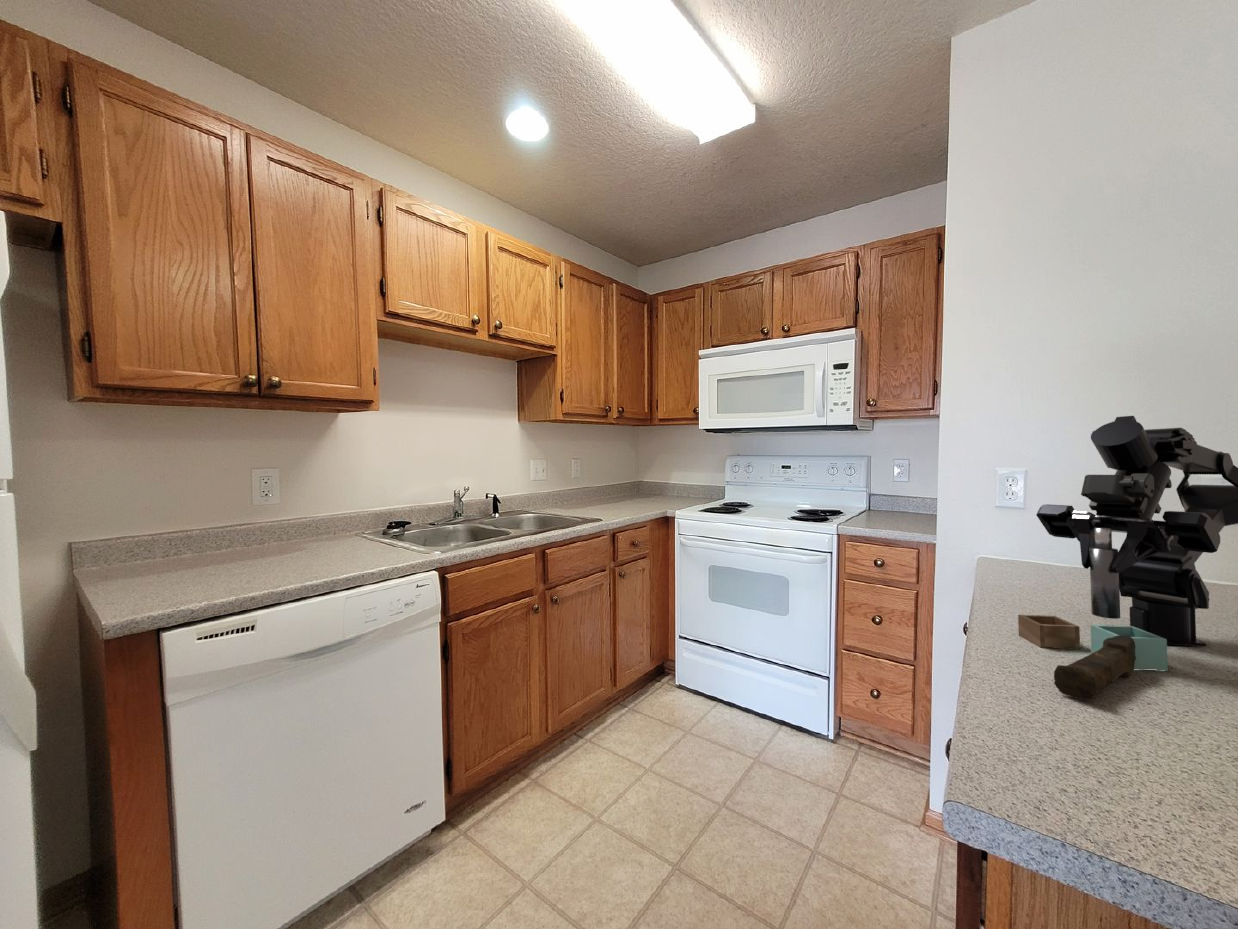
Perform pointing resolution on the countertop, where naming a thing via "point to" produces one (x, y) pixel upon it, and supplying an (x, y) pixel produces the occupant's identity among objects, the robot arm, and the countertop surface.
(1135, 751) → the countertop surface
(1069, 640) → the socket block
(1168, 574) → the robot arm
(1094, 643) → the hollow teal block
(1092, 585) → the stepped grey cylinder
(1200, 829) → the countertop surface
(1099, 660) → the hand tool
